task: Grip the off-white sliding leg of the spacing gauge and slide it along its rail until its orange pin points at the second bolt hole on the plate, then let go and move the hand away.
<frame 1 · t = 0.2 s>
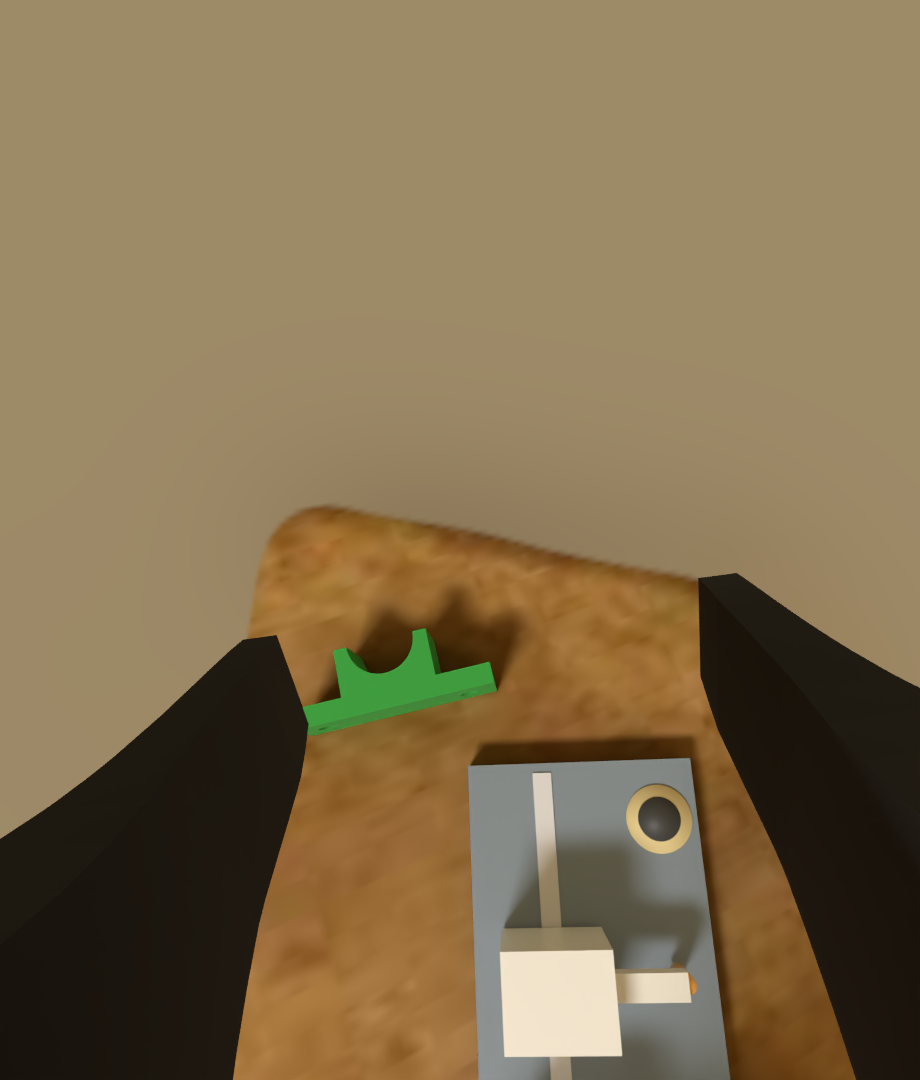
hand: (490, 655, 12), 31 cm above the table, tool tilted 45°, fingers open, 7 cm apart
pipe clamp: (401, 684, 43), on the table
sliding leg: (598, 985, 34), point 4 cm above the table, slide at 0.0 cm
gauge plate: (591, 962, 38), on the table
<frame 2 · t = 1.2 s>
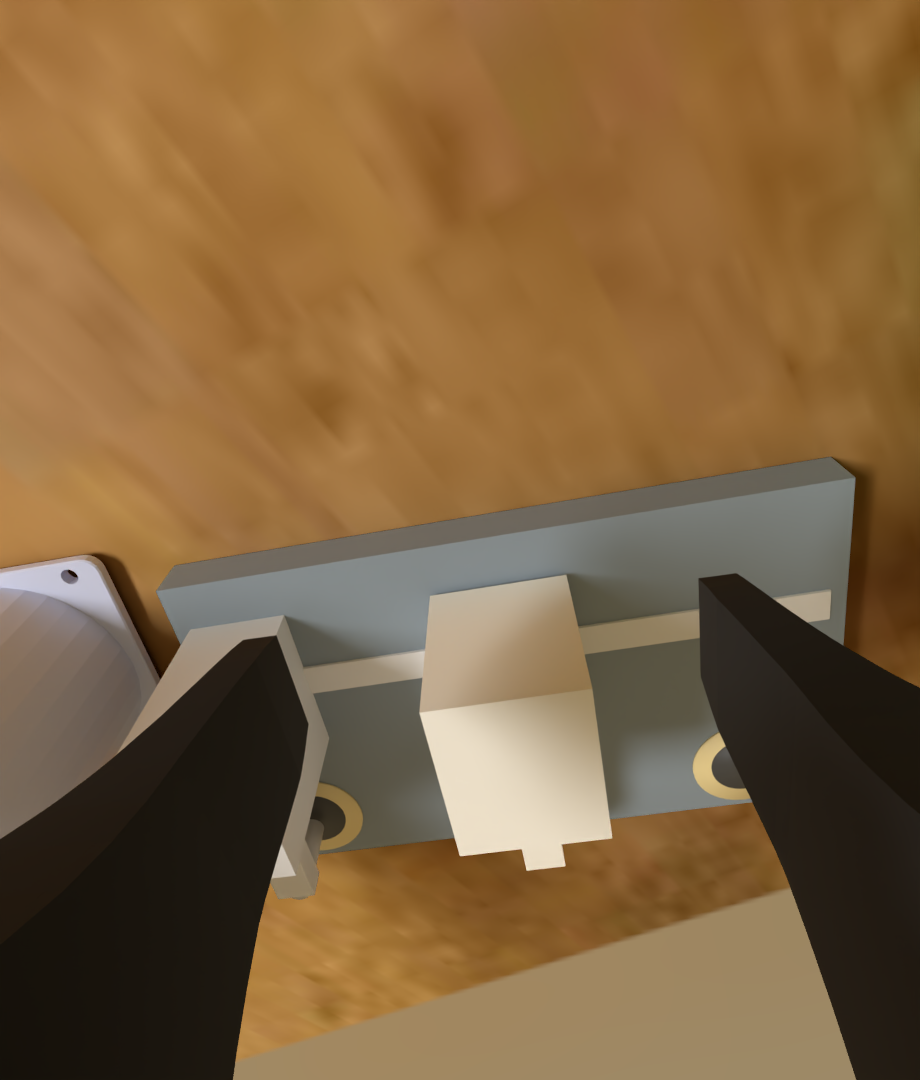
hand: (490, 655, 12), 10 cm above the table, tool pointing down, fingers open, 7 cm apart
sliding leg: (525, 760, 21), point 4 cm above the table, slide at 0.0 cm
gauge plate: (517, 670, 24), on the table
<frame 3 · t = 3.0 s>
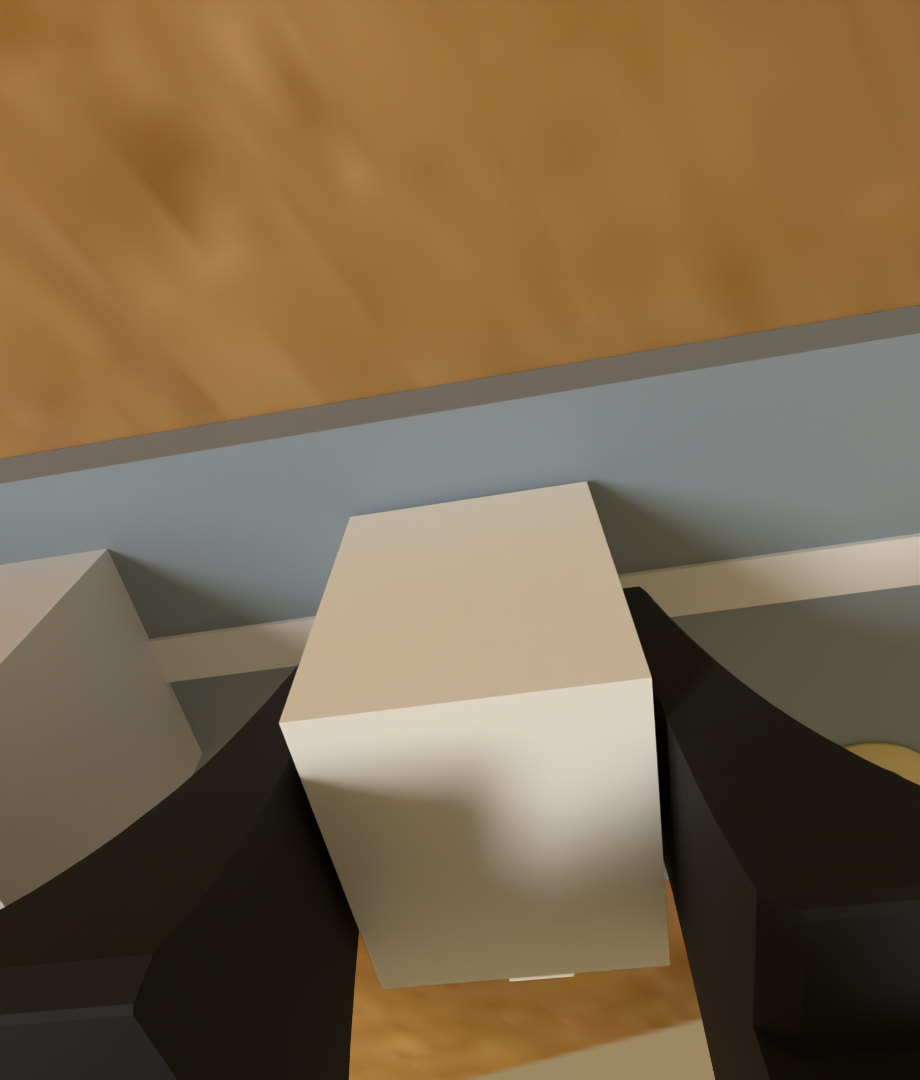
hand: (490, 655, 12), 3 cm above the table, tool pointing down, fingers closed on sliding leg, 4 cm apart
sliding leg: (510, 804, 12), point 4 cm above the table, slide at 0.0 cm, touching gripper
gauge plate: (502, 651, 16), on the table
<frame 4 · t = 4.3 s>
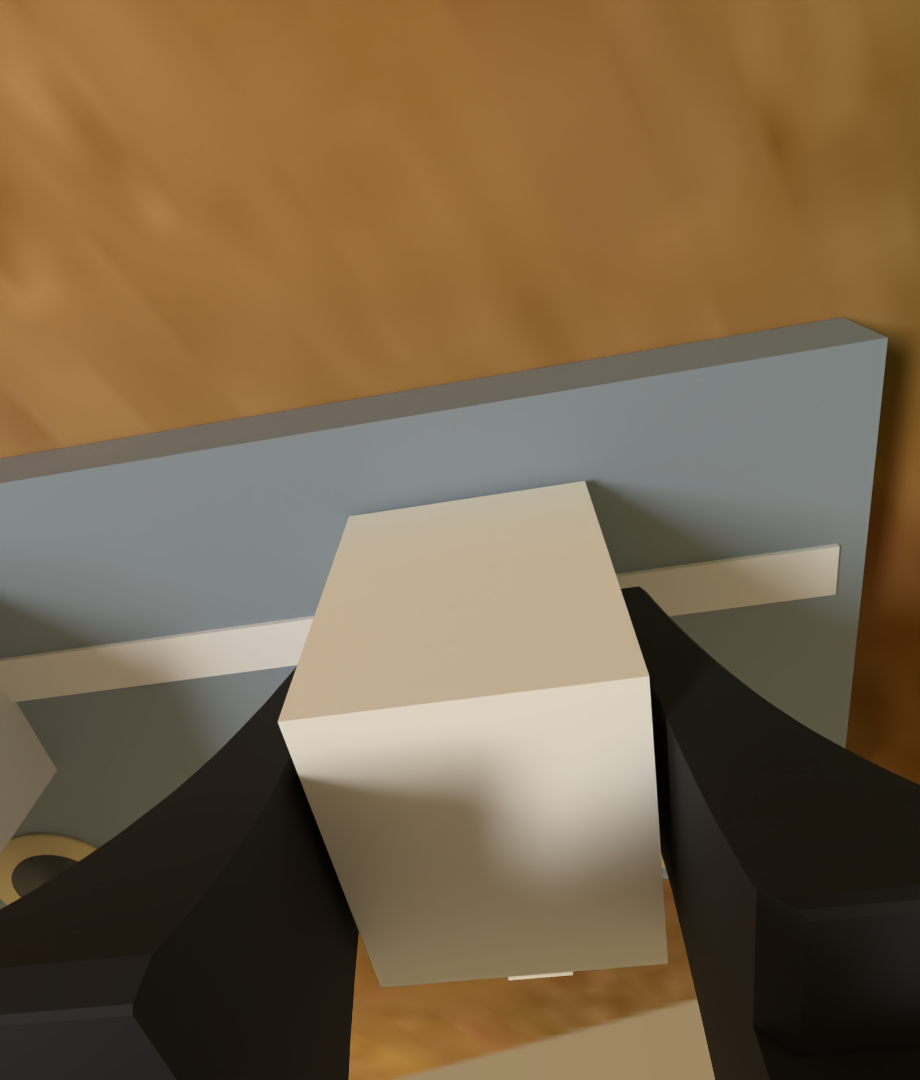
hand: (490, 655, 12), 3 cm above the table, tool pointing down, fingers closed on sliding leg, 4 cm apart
sliding leg: (508, 803, 12), point 4 cm above the table, slide at 3.3 cm, touching gripper
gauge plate: (354, 670, 16), on the table
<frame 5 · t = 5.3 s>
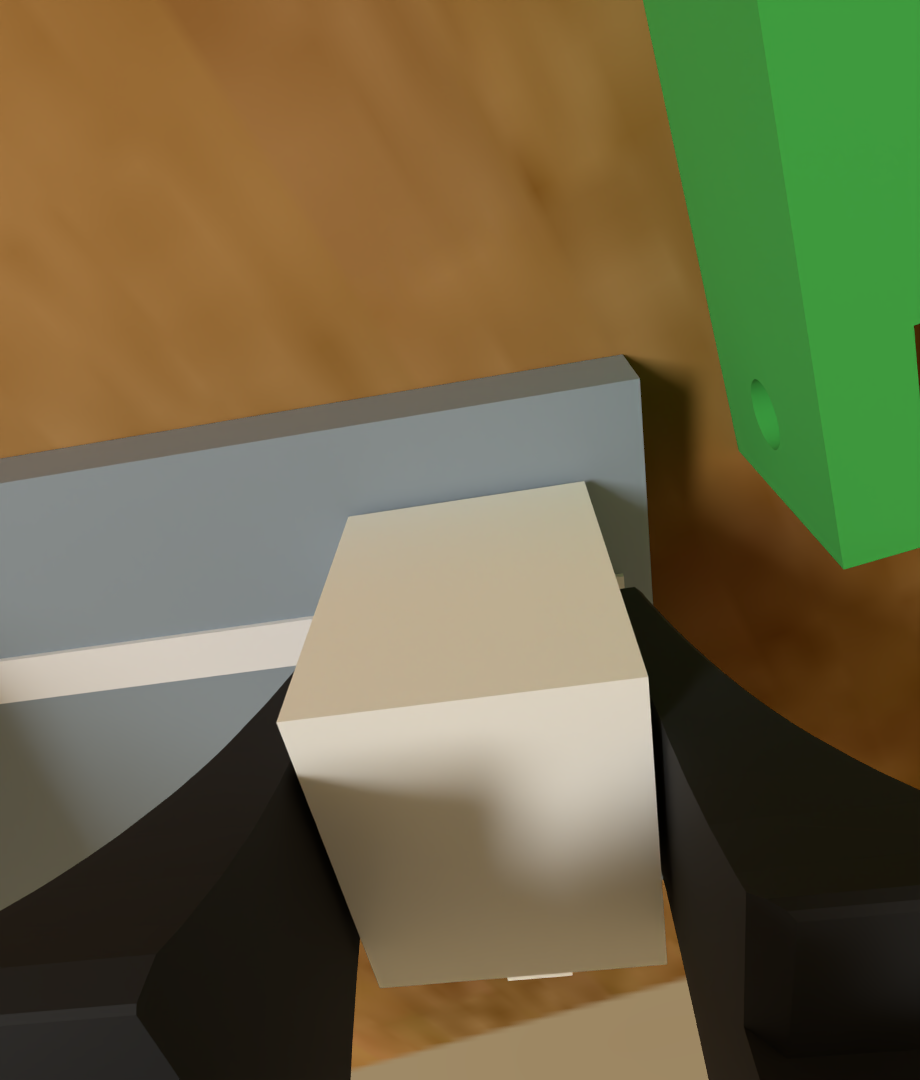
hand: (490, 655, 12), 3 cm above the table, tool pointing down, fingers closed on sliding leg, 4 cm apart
pipe clamp: (778, 87, 11), on the table
sliding leg: (508, 804, 12), point 4 cm above the table, slide at 7.0 cm, touching gripper
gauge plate: (196, 690, 16), on the table
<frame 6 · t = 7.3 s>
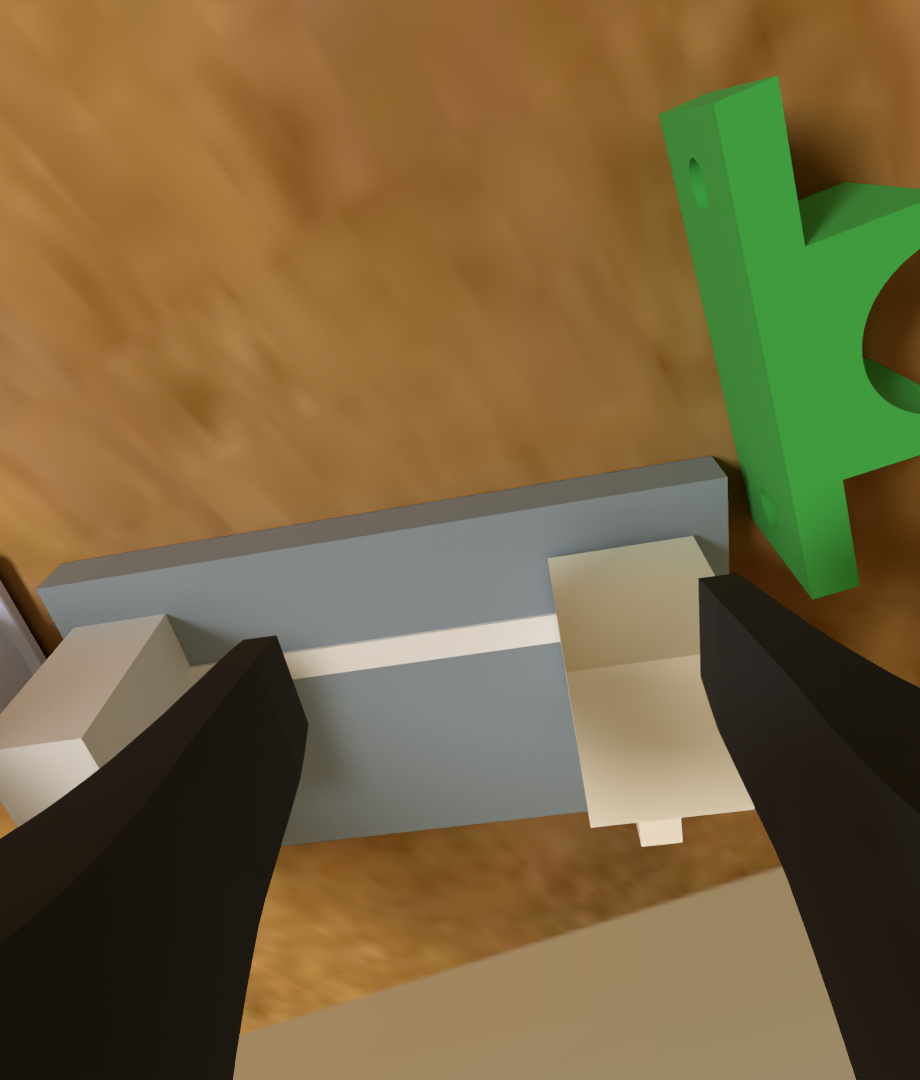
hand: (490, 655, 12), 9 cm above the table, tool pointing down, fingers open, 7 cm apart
pipe clamp: (774, 319, 19), on the table
sliding leg: (649, 730, 20), point 4 cm above the table, slide at 7.0 cm
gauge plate: (413, 669, 24), on the table
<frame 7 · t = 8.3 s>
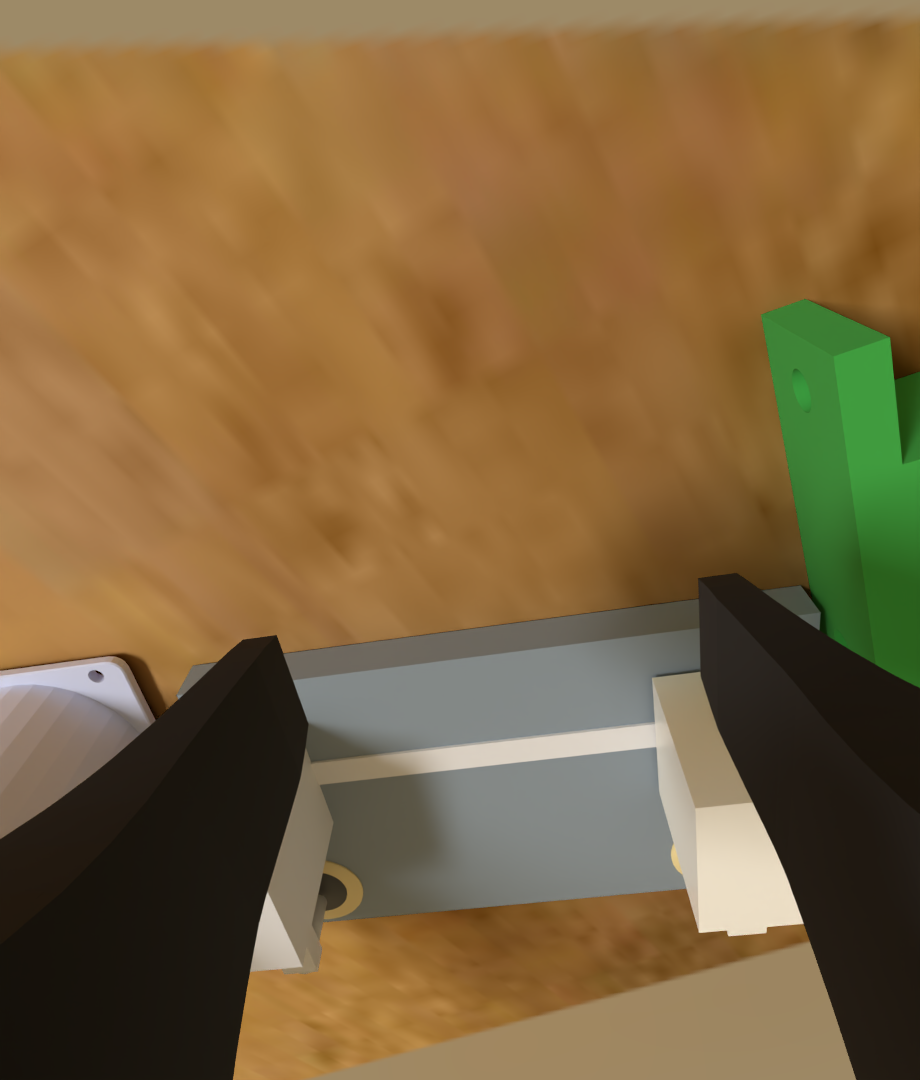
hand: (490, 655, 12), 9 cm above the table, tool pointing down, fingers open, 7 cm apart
pipe clamp: (850, 477, 21), on the table
sliding leg: (743, 837, 22), point 4 cm above the table, slide at 7.0 cm
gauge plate: (509, 760, 26), on the table
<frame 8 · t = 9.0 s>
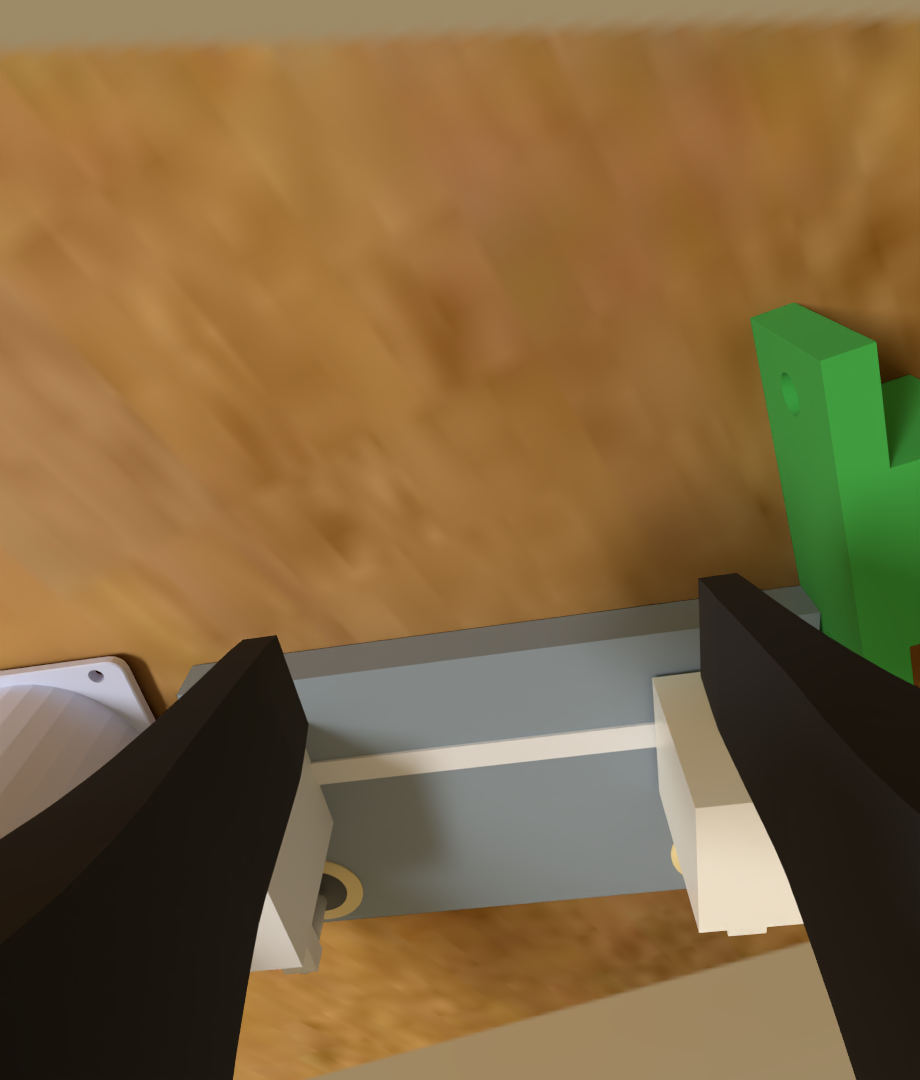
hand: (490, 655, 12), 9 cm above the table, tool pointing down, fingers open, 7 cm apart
pipe clamp: (840, 479, 21), on the table
sliding leg: (743, 837, 22), point 4 cm above the table, slide at 7.0 cm
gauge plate: (509, 760, 26), on the table
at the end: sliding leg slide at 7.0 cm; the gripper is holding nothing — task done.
